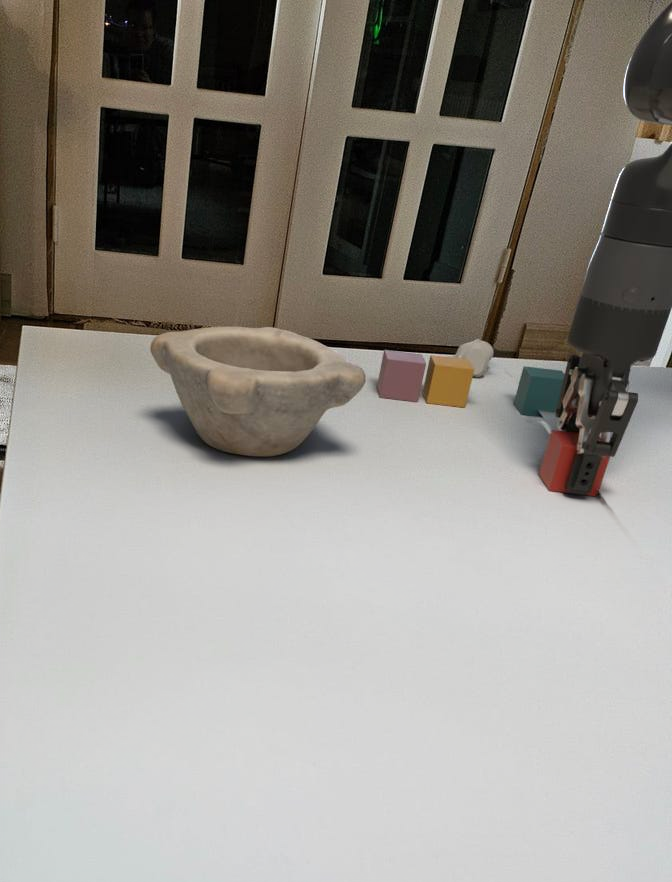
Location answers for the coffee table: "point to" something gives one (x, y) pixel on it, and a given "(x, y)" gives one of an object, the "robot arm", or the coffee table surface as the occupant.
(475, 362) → the pale two-lobed sculpture
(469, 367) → the block
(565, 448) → the red block
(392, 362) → the block
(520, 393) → the block
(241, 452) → the mortar
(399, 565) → the coffee table surface
